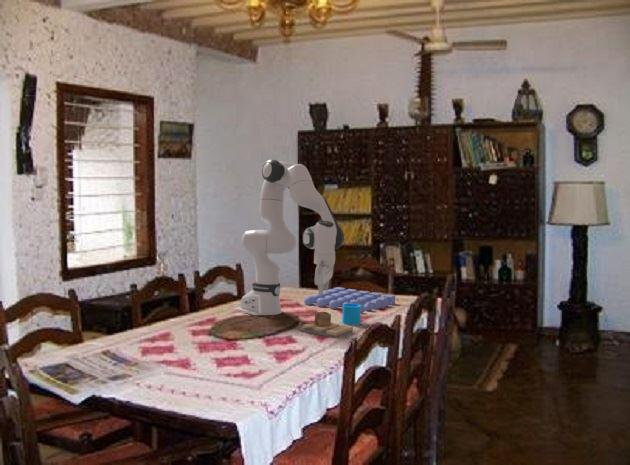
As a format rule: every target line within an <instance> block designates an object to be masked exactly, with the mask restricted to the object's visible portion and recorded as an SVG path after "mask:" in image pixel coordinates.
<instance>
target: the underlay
mask: <svg viewBox="0 0 630 465" xmlns="http://www.w3.org/2000/svg"><path fill="white" fill-rule="evenodd" d="M353 331H354V326H353V325H346V324H342V325H341V324H340V326H338V327H336V328H333V329H330V330H327V331H326V332H325V333H324V332H320V331H315V330H310V329H306V328H303V327H300V328H299V332H303V333H309V334H311V335H312V334H314V335H319V336H324V337H329V338H333V339H334V338H335V339H337V338H340V337H343V336H346V335H348V334H351V333H354V332H353Z"/></svg>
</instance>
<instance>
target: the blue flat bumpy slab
mask: <svg viewBox="0 0 630 465" xmlns="http://www.w3.org/2000/svg"><path fill="white" fill-rule="evenodd" d="M303 300H304V301H303V302H304V304H305V305H307V306H312V305H314V304H316V306H317V307H319V308H324V307H326V305H327V306H328V307H329V309H331V310H337V309H338V308H342V310H343V304H347V303H353V304H359V305H361V314H363V313H364V312H371V311H373V310H379V309H381V308H387V307H388V306H393V305H395V304H396V295H395V294H394V295H393V294H384V295H383V293H380V292H371V293H370V291H366V290H359V291H358V289H355V288H354V289H353V288H352V289H351V288H348V289H346V287H341V286H337V287H333V288H330V289H329V288H328V289H327V290H323V294H319V293H314V294H312V296H311V295H306V296H305V297H304V299H303Z"/></svg>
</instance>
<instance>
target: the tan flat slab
mask: <svg viewBox="0 0 630 465" xmlns="http://www.w3.org/2000/svg"><path fill="white" fill-rule="evenodd" d="M338 326H341V324H337V323H333V322H331V324H330V326H323V327H320V326H318V325H316V324H315V320H314V321H311V322H309V323H305V324H303V325H302V328H306V329H310V330H315V331H320V332H324V333H325V332H326V331H327V330H330V329H333V328H336V327H338Z"/></svg>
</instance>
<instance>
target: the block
mask: <svg viewBox="0 0 630 465" xmlns="http://www.w3.org/2000/svg"><path fill="white" fill-rule="evenodd" d="M331 320H332V314H331V313H329V312H327V311H317V312H316V311H315V313H314V321H315V324H316V325H318V326H320V327H323V326H330V324H331V323H332V321H331Z"/></svg>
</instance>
